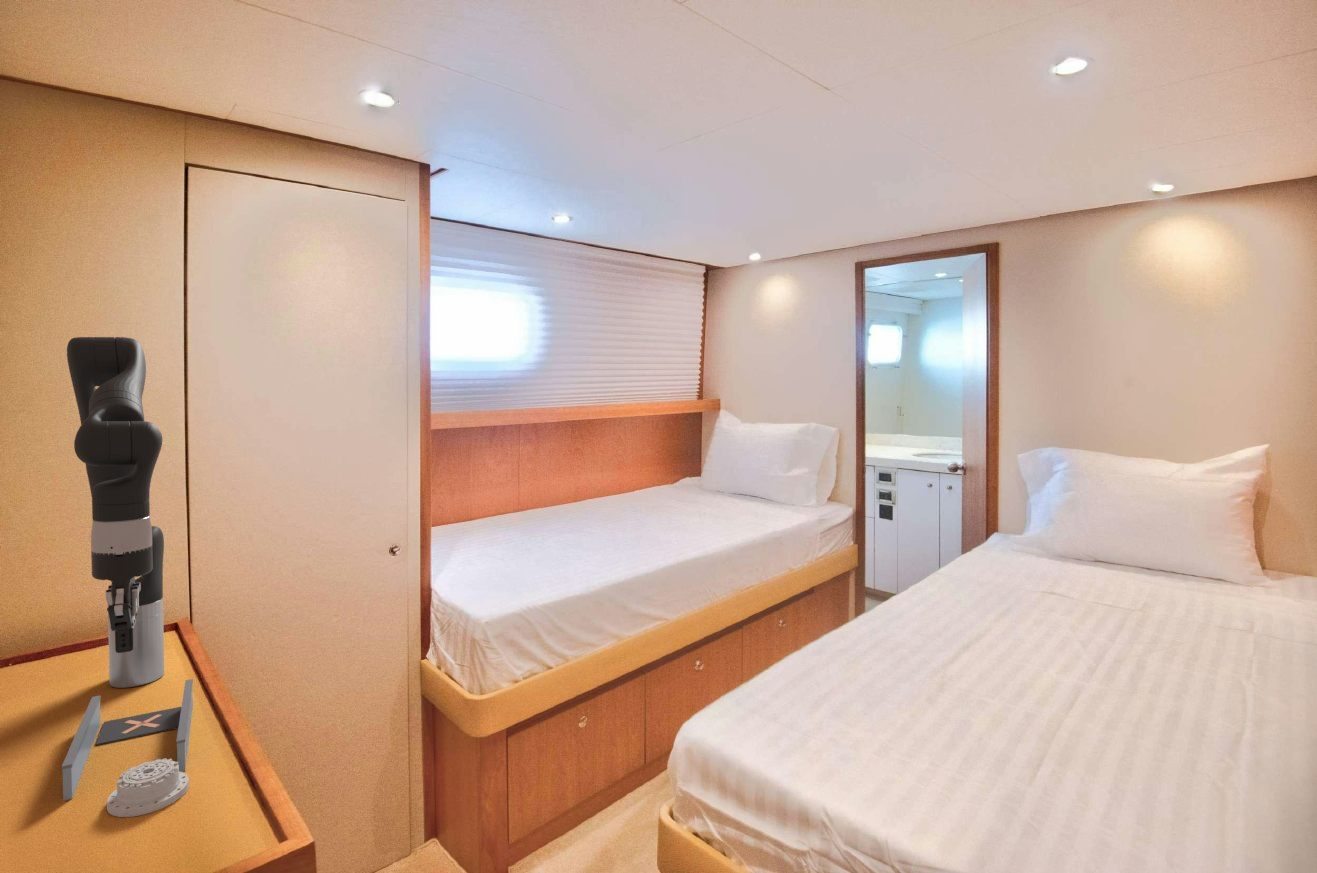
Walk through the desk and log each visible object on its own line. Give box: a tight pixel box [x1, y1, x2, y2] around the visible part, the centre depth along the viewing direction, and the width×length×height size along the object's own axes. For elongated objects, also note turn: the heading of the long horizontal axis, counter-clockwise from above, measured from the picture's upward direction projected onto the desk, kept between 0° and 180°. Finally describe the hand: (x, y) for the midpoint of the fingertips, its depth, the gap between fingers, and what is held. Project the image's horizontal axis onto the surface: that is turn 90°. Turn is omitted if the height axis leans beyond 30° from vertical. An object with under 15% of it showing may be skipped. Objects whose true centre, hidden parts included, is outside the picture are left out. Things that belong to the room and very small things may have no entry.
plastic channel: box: [61, 678, 194, 802], centre depth 112 cm, size 26×15×6 cm, turn 34°
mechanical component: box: [106, 758, 190, 818], centre depth 99 cm, size 10×4×10 cm
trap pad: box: [95, 706, 182, 747], centre depth 120 cm, size 9×12×1 cm
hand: (125, 650), depth 103 cm, fingers closed
